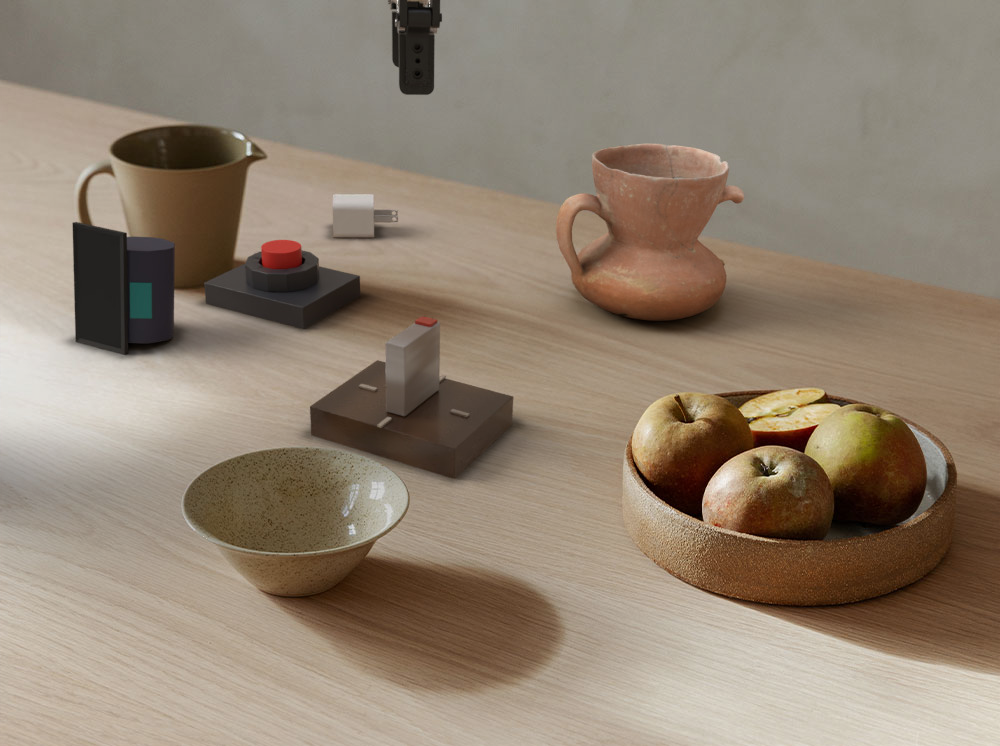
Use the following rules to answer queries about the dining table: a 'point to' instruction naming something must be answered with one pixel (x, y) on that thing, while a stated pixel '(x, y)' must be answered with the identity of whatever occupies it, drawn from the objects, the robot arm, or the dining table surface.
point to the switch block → (283, 291)
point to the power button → (281, 254)
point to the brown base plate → (413, 422)
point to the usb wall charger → (357, 216)
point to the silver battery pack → (412, 366)
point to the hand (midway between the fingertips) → (412, 79)
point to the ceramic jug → (649, 231)
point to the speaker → (122, 288)
